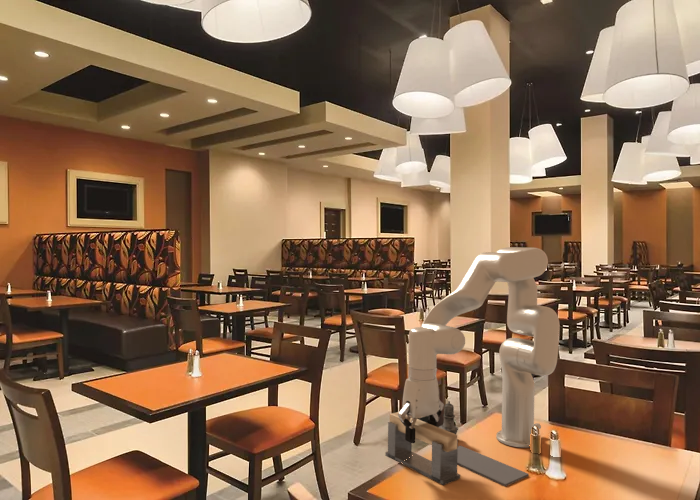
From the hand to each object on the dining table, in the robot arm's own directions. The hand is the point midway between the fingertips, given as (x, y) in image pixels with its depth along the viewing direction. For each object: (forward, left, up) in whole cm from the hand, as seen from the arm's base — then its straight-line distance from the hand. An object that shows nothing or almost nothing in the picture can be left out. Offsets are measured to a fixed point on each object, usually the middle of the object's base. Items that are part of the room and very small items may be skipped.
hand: (421, 438), depth 136 cm
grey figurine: (-21, -9, -8) cm, 24 cm away
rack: (0, 0, -8) cm, 8 cm away
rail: (0, 0, 0) cm, 0 cm away
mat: (-14, +9, -8) cm, 18 cm away
